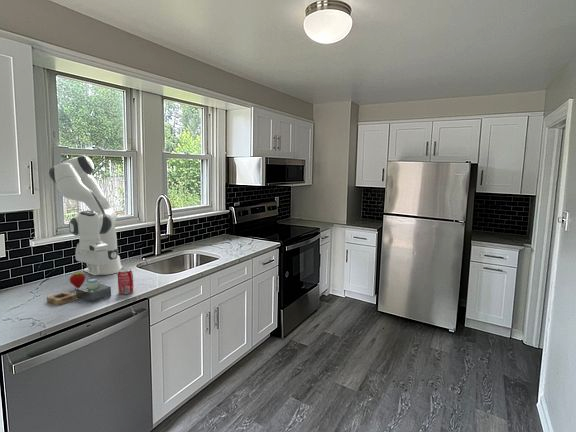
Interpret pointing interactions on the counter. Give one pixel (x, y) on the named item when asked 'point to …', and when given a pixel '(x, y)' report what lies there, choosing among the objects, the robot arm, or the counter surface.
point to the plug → (92, 284)
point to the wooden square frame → (61, 298)
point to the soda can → (125, 281)
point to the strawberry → (77, 279)
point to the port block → (93, 293)
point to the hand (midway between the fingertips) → (92, 272)
